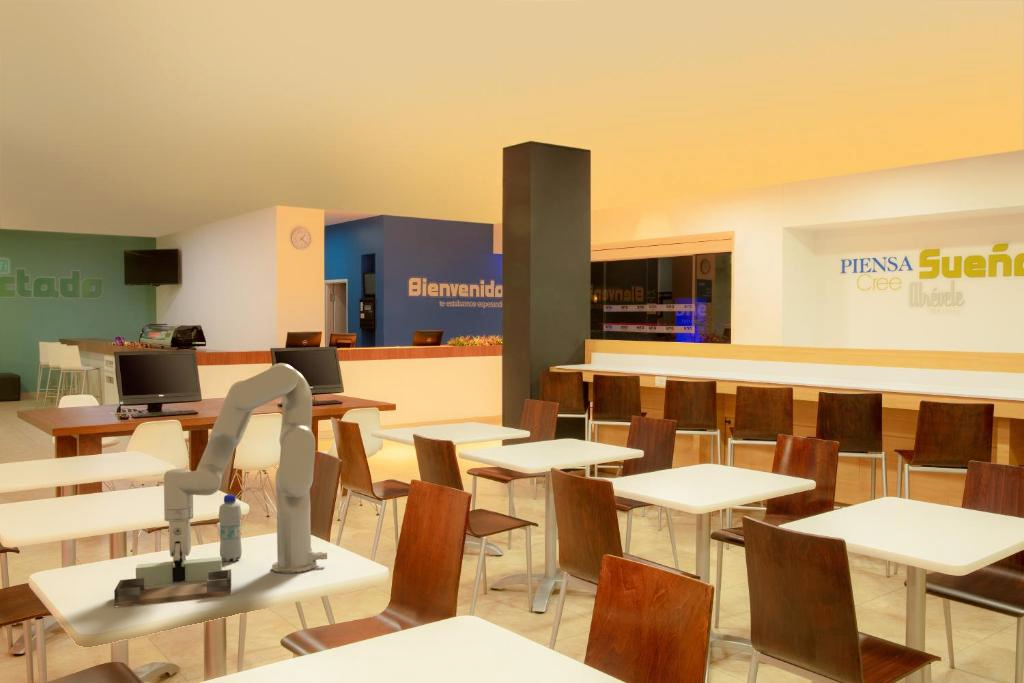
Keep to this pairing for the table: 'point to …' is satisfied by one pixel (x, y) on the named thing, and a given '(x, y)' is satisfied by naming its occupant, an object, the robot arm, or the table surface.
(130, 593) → the cradle
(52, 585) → the table surface
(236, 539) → the bottle
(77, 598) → the table surface
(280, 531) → the robot arm
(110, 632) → the table surface
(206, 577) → the slat
